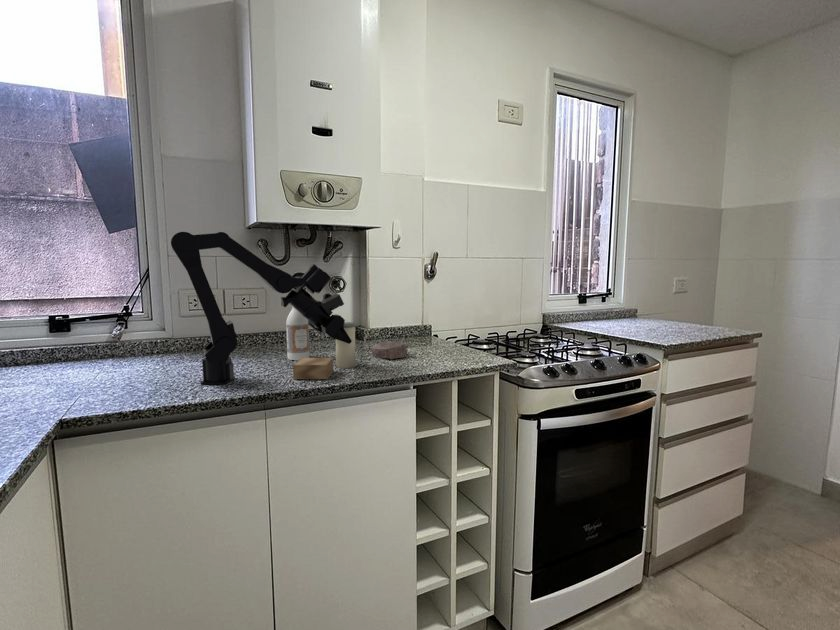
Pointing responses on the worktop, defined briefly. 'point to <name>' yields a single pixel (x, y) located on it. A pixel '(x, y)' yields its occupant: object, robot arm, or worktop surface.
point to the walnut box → (313, 368)
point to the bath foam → (297, 336)
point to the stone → (389, 350)
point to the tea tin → (346, 348)
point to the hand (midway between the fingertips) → (345, 340)
